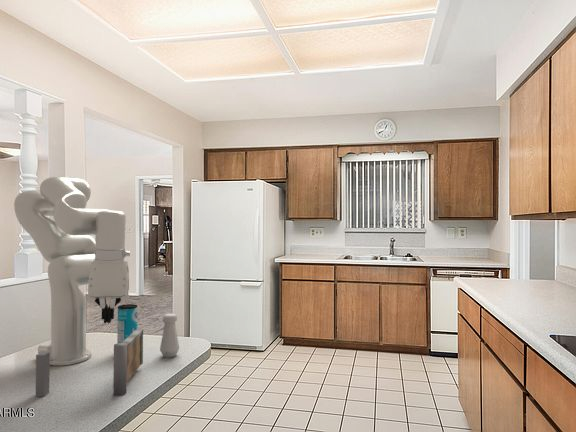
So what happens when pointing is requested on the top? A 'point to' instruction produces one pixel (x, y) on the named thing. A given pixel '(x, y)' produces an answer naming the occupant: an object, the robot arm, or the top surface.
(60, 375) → the top surface
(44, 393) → the post
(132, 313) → the beverage can
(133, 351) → the gate
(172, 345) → the salt shaker
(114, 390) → the hinge post
